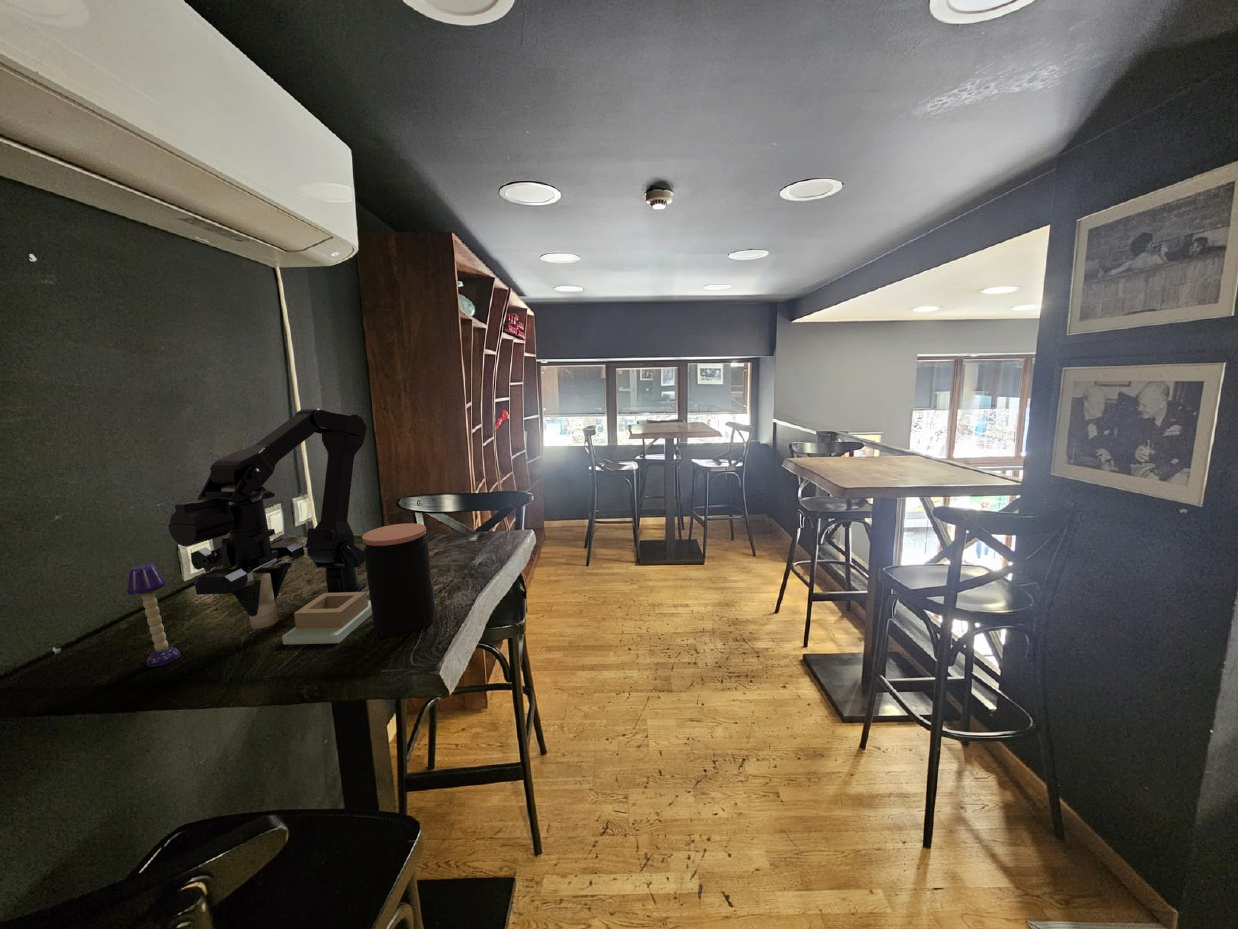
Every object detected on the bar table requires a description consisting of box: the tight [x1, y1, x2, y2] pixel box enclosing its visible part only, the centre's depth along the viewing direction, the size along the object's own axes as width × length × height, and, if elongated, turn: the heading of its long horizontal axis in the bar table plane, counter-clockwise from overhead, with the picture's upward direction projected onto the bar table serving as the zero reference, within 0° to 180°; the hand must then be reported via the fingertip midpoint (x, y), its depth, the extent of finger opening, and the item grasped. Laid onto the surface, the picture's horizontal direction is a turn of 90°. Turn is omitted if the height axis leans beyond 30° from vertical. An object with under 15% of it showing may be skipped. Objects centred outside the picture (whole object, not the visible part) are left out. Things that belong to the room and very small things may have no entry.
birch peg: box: [248, 573, 278, 630], centre depth 89 cm, size 4×4×9 cm
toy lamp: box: [126, 562, 181, 668], centre depth 81 cm, size 5×5×17 cm
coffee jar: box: [361, 522, 436, 637], centre depth 90 cm, size 11×11×18 cm
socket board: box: [281, 591, 372, 645], centre depth 92 cm, size 14×10×4 cm
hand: (262, 610), depth 89 cm, fingers closed on birch peg, 4 cm apart
